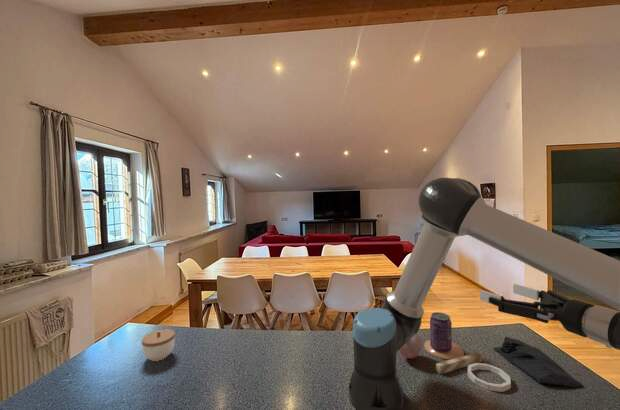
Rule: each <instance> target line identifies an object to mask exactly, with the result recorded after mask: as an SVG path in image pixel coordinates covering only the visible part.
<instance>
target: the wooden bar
mask: <svg viewBox="0 0 620 410" xmlns="http://www.w3.org/2000/svg"><path fill="white" fill-rule="evenodd" d="M482 357H483V355H482V353H480V352H478V351H475V352H473V353H468V354H466V355H465V354H464V356H461V357H458V358H454V359H451V360H445V361H441V362H438V363H435V372H436V373H437V374H439V375H442V374H446V373H449V372H452V371H455V370H460V369H463V368H465V367H468V365H471V364H474V363H481V362H482V361H483V358H482Z"/></svg>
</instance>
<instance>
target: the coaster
mask: <svg viewBox="0 0 620 410" xmlns="http://www.w3.org/2000/svg"><path fill="white" fill-rule="evenodd" d="M424 350H425V351H426V353H428V354H429V355H431V356H433V357H435V358H438V359H441V360H445V361H447V360H451V359H454V358H458V357H461V356H465V351H464V349H463V347H461V345H459V344H457V343H456V342H453V341H452V349H451V350H450V351H448V352H440V351H437V350H435V349H433V348H432V347H431V346H430V339H429V340H428V339H427V340H426V341H424Z"/></svg>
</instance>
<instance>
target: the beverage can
mask: <svg viewBox="0 0 620 410" xmlns="http://www.w3.org/2000/svg"><path fill="white" fill-rule="evenodd" d="M429 326H430V327H429V340H430V346H431V347H432V348H433V349H435V350H437V351H440V352H448V351H450V350H451V349H452V342H453V341H452V328H453V327H452V326H453V325H452V321H451V317H450V315H448V314H447V313H443V312H437V311H436V312H432V313H431V315H430V318H429Z"/></svg>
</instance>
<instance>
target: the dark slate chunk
mask: <svg viewBox="0 0 620 410" xmlns="http://www.w3.org/2000/svg"><path fill="white" fill-rule="evenodd" d="M493 350H495V351H496V352H498V353H499V354H500V355H501V356H502V357H503V358H504V359H506V360H507V361H508V362H509V363H510V364H514V365H515V366H517V368H518V369H519V370H521V371H522V372H524V373H525V374H527V375H528V376H529V377H530V378H532V379H533V380H536V381H537V382H538V383H541V384H548V385H549V384H550V385H556V386H557V385H558V386H564V387H571V388H580V387H584V385H583V384H582V383H581V382H580V381H578V380H576V379H575V378H574V377H573V376H572V375H570V374H569V373H568V372H567V371H566V370H565V369H563V368H562V367H561V366H560V365H559V364H558V363H557V362H555V360H553V359H552V358H551V357H550V356H548V355H547V354H546V353H544V352H543V351H542V350H540V348H537V347H535V346H531V345H530V344H527V343H526V342H525V341H524V342H523V341H522V340H520V339H517V338H511V337H509V336H505V337H504V341H503V343H502V344H501V346H495V347H493Z"/></svg>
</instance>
